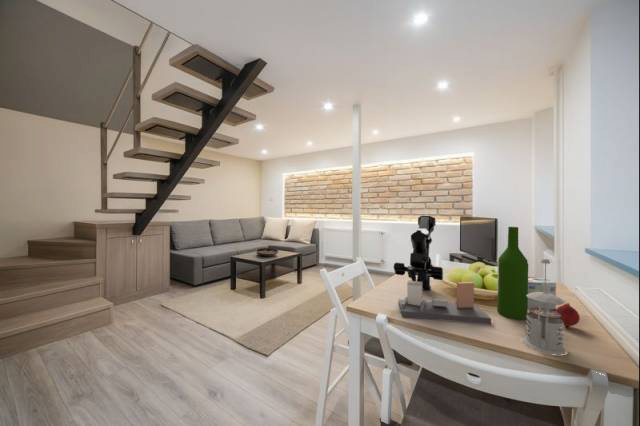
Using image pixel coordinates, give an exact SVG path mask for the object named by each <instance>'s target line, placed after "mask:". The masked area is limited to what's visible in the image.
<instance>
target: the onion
mask: <svg viewBox="0 0 640 426" xmlns="http://www.w3.org/2000/svg"><path fill="white" fill-rule="evenodd" d="M570 304H571V303H569V302H564V304H562V305H559V306H558V307H556V310H555V312H557V313H559V314H560V315H561V316H562V317H561V318H560V319H561V320H562V321H563V322H564V327H566V326H568V327H567V328H569V326H570V327H572V326H575V325H576V326H577V324H579V322H580V319H581V317H580V314H579V311H577V310H576V308H574V307H572V306H571V305H570Z"/></svg>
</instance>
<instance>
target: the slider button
mask: <svg viewBox="0 0 640 426" xmlns="http://www.w3.org/2000/svg"><path fill="white" fill-rule="evenodd" d="M406 283H407V287H406V288H407V292H406V293H407V294H406V295H407V297H406V298H407V304H411V305H417V306H421V305H422V301H423V289H422V282H418V281H417V280H416V281H412V279H411V280H408V281H407V282H406Z"/></svg>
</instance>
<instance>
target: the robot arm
mask: <svg viewBox="0 0 640 426" xmlns="http://www.w3.org/2000/svg"><path fill="white" fill-rule="evenodd" d="M436 222H437V221H436V218H435V217H433V216H432V215H430V214H421V215H419V217H417V225H418V228H417V230H415V231H414V232H413V233H411V235H410V242H411V247H412V249H413V250H412V252H410V256H409V265H408V266H405V263H404V262H395V263H393V269H394V274H395V275H398V276H404V275H406V273H407V277H408V278H409V279H411V281H418V282H422V290H425V291H426V290H427V291H431V289H432V286H431V278H433V279H434V280H437V281H443V279H444V271H443V270H444V269H443V267H441V266H435V265H433V264H432V259H431V257H430V244H432V242H433V239H432V237H431V234H432V233H433V232H434V231H435V226H436V225H437V224H436Z"/></svg>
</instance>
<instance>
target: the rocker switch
mask: <svg viewBox="0 0 640 426" xmlns="http://www.w3.org/2000/svg"><path fill="white" fill-rule="evenodd" d="M431 302H432V304H433V305H438V306H449V303H450V302H449V300H447V299H435V298H431Z"/></svg>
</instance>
